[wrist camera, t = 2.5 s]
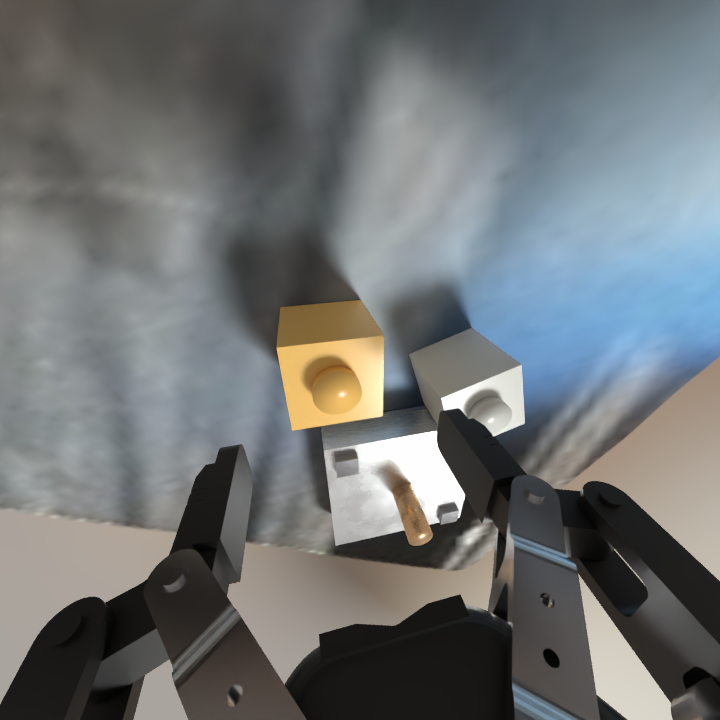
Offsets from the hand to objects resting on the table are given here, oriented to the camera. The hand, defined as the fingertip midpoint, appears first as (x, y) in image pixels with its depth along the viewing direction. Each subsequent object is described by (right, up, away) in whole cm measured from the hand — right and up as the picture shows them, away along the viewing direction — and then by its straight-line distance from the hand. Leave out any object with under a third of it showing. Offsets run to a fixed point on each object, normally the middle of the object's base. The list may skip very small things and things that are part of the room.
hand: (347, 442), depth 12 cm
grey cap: (+7, +3, +11) cm, 13 cm away
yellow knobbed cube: (-2, +5, +8) cm, 9 cm away
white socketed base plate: (+3, -6, +15) cm, 16 cm away
